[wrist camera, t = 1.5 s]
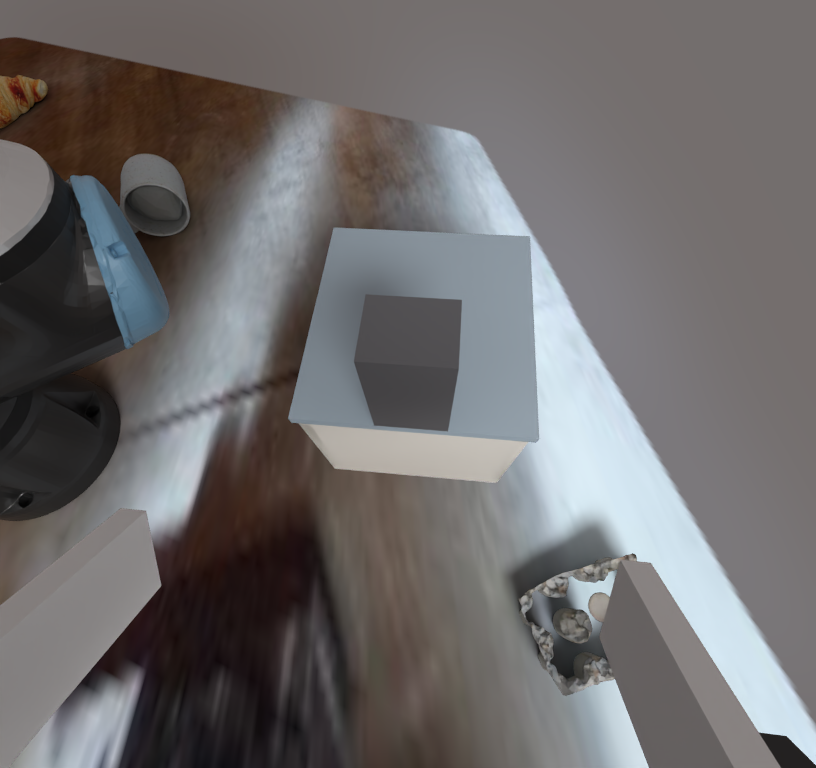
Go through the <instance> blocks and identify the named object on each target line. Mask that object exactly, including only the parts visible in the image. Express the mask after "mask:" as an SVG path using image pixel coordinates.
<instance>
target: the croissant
mask: <svg viewBox="0 0 816 768" xmlns="http://www.w3.org/2000/svg"><path fill="white" fill-rule="evenodd" d="M47 92H48V87H47V85H46V83H45V82H44V81H42V80H40V79H37V80H34V79H32V78H28V77H23V76H21V75H17V76H16V77H15V78H10V77H2V76H0V129H1V128H4V127H6V126H8V125H9V124H11V123H12V122H13V121H15V120H16V119H17V118H18V117H19V116H20V115H21V114H22V113H26V112H27V111H28V110H29V109H30V107H33V105H34V102H39V101H41V100H42V99H43V98H44V97H45V96H46V95H47Z"/></svg>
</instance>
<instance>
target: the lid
mask: <svg viewBox="0 0 816 768" xmlns="http://www.w3.org/2000/svg"><path fill="white" fill-rule="evenodd" d="M288 419H289V420H290V421H291V423H302V424H314V425H326V426H338V427H351V428H363V429H375V430H388V431H400V432H412V433H425V434H437V435H449V436H462V437H474V438H486V439H498V440H511V441H523V442H535V443H536V442H537V441H538V440H539V426H538V404H537V382H536V360H535V338H534V316H533V294H532V272H531V250H530V237H529V236H507V235H485V234H463V233H441V232H419V231H398V230H376V229H354V228H334V229H333V233H332V237H331V241H330V245H329V250H328V254H327V258H326V262H325V266H324V271H323V275H322V279H321V283H320V287H319V292H318V296H317V300H316V304H315V308H314V312H313V317H312V321H311V325H310V329H309V333H308V338H307V342H306V346H305V350H304V354H303V359H302V363H301V367H300V371H299V375H298V379H297V384H296V388H295V392H294V396H293V400H292V405H291V409H290V413H289V417H288Z"/></svg>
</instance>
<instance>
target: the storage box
mask: <svg viewBox="0 0 816 768" xmlns="http://www.w3.org/2000/svg"><path fill="white" fill-rule="evenodd" d="M299 425H300V426H301V427H302V428H303V429H304V431H305V432H306V433H307V434H308V436H309V437H310V438H311V439H312V441H313V442H314V443H315V444H316V446H317V447H318V448H319V449H320V451H321V452H322V453H323V454H324V456H325V457H326V458H327V459H328V461H329V462H330V463H331V464H332V466H333V467H334V468H335V469H346V470H358V471H369V472H380V473H391V474H403V475H414V476H425V477H436V478H448V479H459V480H470V481H481V482H493V483H497V482H498V480H499V479H500V478H501V477H502V475H503V474H504V473H505V471H506V470H507V469H508V468H509V466H510V465H511V464H512V462H513V461H514V460H515V459H516V457H517V456H518V455H519V453H520V452H521V451H522V450H523V448H524V447H525V446H526V444H527V443H528V442H523V441H511V440H498V439H486V438H474V437H462V436H449V435H437V434H425V433H412V432H400V431H388V430H375V429H363V428H351V427H338V426H326V425H314V424H302V423H299Z"/></svg>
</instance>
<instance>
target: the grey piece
mask: <svg viewBox="0 0 816 768" xmlns="http://www.w3.org/2000/svg"><path fill="white" fill-rule="evenodd" d="M636 559H637V558H636V555H635V554H633V553H632V554H630V555H625V556H624V557H621V558H617V559H612V558H609V557H607V558H603V559H600V560H597V561H595V563H594V564H591V565H589V566H586V567H583V568H580V569H576V570H572V571H568V572H564V573H561V574H559V575H557V576H554V577H553V578H551V579H549V580H547V581H545V582H544V583H542V584H540V585H538V586H537V587H535V588H533V589H530V590H528V591H527V592H525V593H524V594H525V595H524V596H523V597H522V598H520V599H518V601H519V602H520V604H521V606H522V609H521V610H520V612H519V613H520V616H521V618H522V620H523V623H524V624H527V625H528V626H531V627H532V633H533V636H534V638H535V640H536V642H537V643H538V645H539V648H540V651H541V653H540V654H539V655H538V658H539V660H540V663H541V665H542V667H543V669H544V670H546V671H547V672H549V674H550V675H551V677H552V678H553V680H554V682H555V683H556V685H557V686H558V688H559V689H560V691H561V692H562V694H563V695H565V696H567V695H570V694H573V693H575V692H578V691H581V690H584V689H585V688H587V687H589V686H592V685H598V684H599V683H600V682H603V681H609V680H613V679H615V677H614V675H613V672H612V669H611V667H610V664H609V662H608V660H607V661H606V660H605V658H603V657H599V656H596V655H594V654H592V653H589V652H582V653H579V654H578V655H577V656H576V657H575V659H574V665H573V668H574V676H572V677H570V678H568V679H567V678H565V677H564V676H563V675H561V674H560V673H558V672H557V669H556V667H555V666H554V665H553V664H551V662H550V660H551V659H552V658H553V657H554V653H553V649H552V648H553V643H554V642H553V638H552V635H551V633H549V632H547V631H545V630H544V628H542V627H539V626H536V625H535V624H534V623H533V622H528V621H527V619H526V616H525V613H526V612H527V611H528V610H529V609H530V608H531V607H532V603H533V598H532V595H531V594H532V593H533V592H534V591H536V590H538V591H539V592H540V593H541V594H543V595H545V596H547V597H555V598H559V597H562V598H563V597H565V596H566V591H567V588H568V577H569V576H573V577H574V578H575V579H577V580H579V581H584V582H593V583H596V582H597V581H598V580H600V581H604V580H605V578H606V576H607V575H608V572H610V571H614V570H617V569H618V567H619V563H620V560H627V561H637V560H636ZM609 599H610V597H609V596H607V595H606V594H603V593H595V594H594V595H592V596H591V597H590V600H589V604H588V605H589V611H590V613H591V614H592V616H593V617H594V618H595V619H596V620H598V621H600V622H603V621H604V617H605V614H606V610H607V607H608V603H609ZM553 624H554V628H555V630H556V632H557V633H558V634H559V635H560V636H561V637H563V638H565V639H567V640H569V641H571V642H574V643H579V644H580V643H584V642H587V641H588V640H589V637H590V634H591V632H592V625H591V622H590V619H589V616H588V615H587V613H586V612H584V611H583V610H574V609H569V608H561V609H559V610H558V611H556V613H555V614H554V617H553Z"/></svg>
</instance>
